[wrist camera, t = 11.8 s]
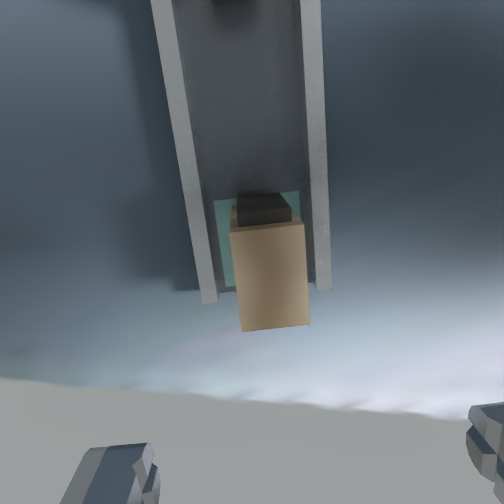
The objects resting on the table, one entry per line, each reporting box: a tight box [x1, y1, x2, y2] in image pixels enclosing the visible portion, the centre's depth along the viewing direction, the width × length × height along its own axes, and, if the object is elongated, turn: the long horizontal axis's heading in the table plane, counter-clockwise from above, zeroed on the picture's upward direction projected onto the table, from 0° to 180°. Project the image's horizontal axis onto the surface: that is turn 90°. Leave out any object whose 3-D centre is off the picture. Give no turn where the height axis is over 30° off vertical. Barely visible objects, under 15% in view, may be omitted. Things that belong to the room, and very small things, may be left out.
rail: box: [150, 0, 332, 305], centre depth 21 cm, size 10×28×9 cm, turn 6°
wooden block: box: [229, 193, 310, 332], centre depth 23 cm, size 4×7×8 cm, turn 6°
